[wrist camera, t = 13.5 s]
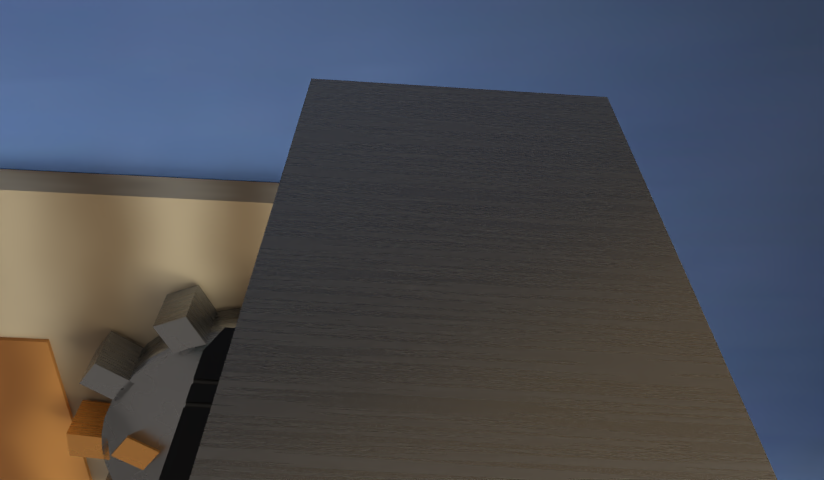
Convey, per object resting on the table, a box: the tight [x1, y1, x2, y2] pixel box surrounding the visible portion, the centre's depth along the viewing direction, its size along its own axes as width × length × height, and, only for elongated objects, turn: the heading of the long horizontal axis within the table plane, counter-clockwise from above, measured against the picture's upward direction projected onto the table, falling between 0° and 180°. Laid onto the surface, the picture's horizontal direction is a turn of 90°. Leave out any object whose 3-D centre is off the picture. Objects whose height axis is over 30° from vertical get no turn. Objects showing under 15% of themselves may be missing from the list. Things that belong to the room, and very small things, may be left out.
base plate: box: [0, 169, 279, 480], centre depth 37 cm, size 30×26×2 cm
